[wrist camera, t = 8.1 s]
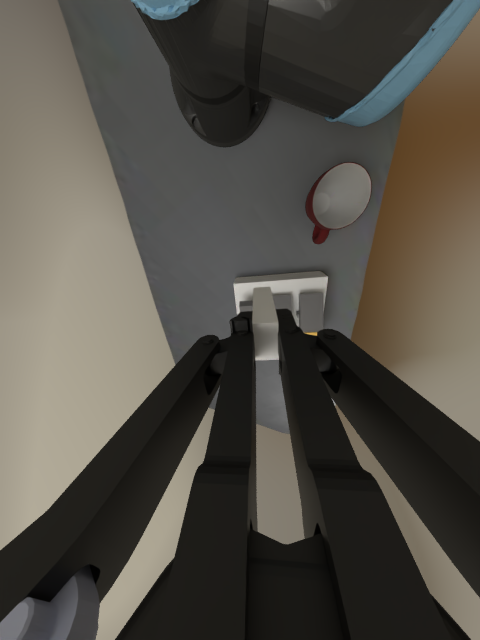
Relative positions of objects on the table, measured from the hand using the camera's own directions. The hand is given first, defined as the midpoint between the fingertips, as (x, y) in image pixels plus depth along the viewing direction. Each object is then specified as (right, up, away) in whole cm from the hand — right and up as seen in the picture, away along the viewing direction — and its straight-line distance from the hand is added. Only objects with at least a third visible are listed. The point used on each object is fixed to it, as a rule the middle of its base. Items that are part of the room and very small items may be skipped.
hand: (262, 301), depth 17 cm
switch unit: (+7, +2, +28) cm, 29 cm away
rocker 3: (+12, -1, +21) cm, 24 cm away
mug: (+13, +19, +19) cm, 30 cm away
